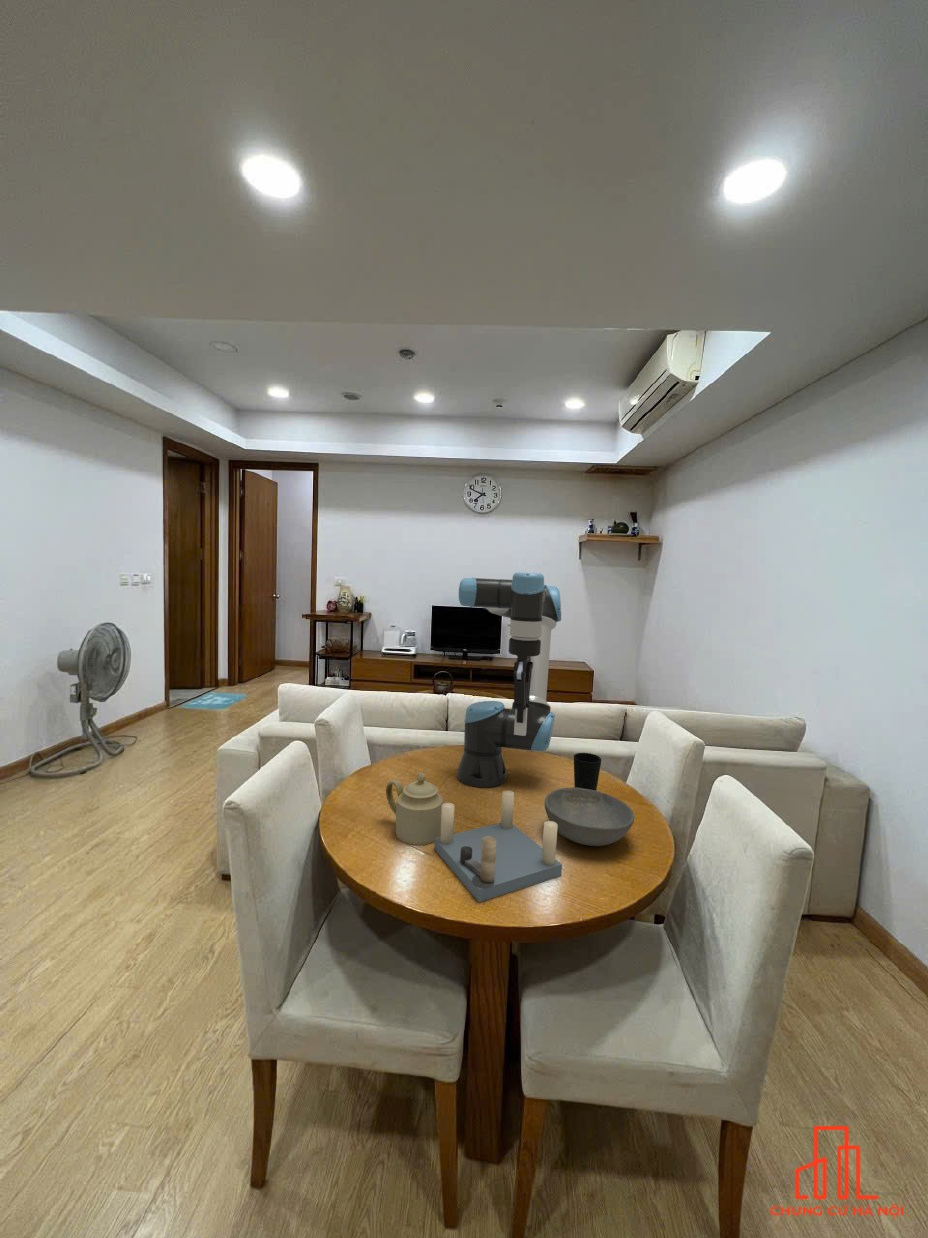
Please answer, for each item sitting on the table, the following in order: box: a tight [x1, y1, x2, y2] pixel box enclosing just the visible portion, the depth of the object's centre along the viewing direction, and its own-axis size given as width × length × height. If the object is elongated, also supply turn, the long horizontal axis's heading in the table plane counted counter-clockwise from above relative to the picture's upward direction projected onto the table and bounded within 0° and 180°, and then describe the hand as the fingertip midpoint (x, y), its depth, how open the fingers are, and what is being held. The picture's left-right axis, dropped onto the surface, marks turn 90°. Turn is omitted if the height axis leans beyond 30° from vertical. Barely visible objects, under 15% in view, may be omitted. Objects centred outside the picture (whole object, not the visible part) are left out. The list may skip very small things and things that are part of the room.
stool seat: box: [433, 790, 563, 903], centre depth 106 cm, size 20×20×11 cm
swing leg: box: [460, 836, 496, 882], centre depth 99 cm, size 10×3×8 cm, turn 37°
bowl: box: [544, 786, 635, 847], centre depth 119 cm, size 21×21×8 cm
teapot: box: [385, 772, 444, 846], centre depth 117 cm, size 15×11×15 cm
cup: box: [573, 752, 602, 791], centre depth 139 cm, size 8×8×12 cm
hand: (520, 734), depth 119 cm, fingers closed
